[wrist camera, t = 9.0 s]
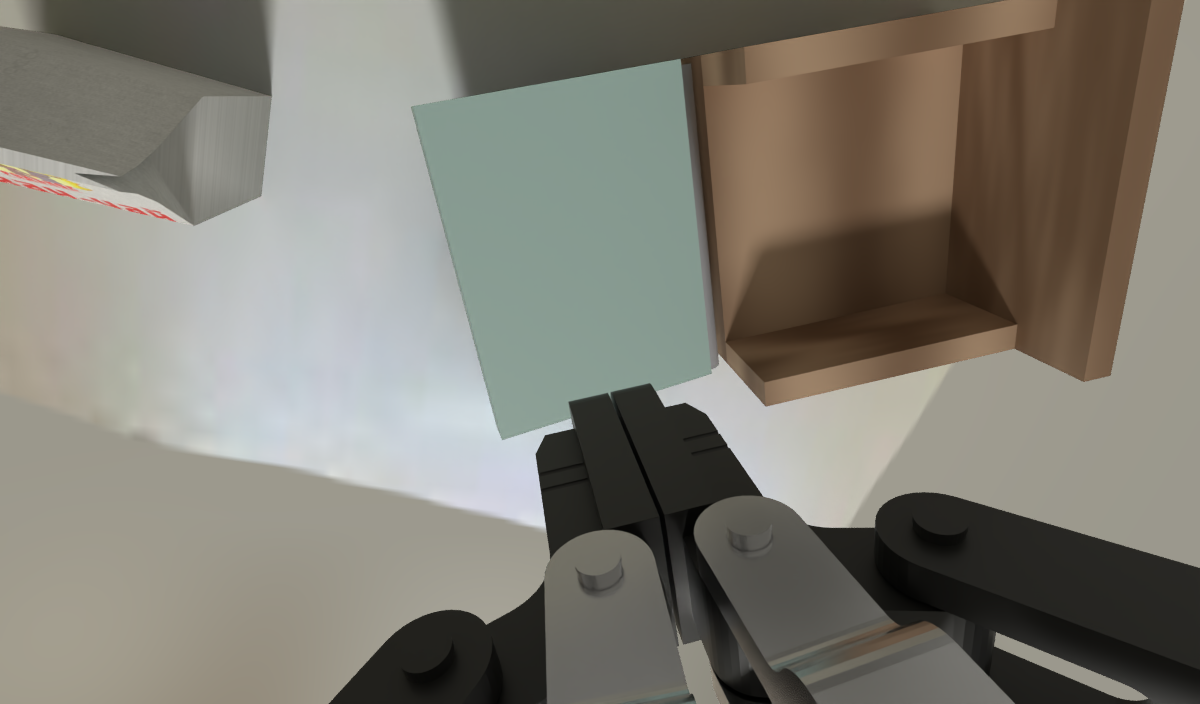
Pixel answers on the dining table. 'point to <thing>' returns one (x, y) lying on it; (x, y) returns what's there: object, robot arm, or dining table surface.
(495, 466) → the dining table surface
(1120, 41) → the brown wooden open box
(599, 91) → the panel
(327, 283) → the dining table surface
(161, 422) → the dining table surface
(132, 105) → the grey wedge block
